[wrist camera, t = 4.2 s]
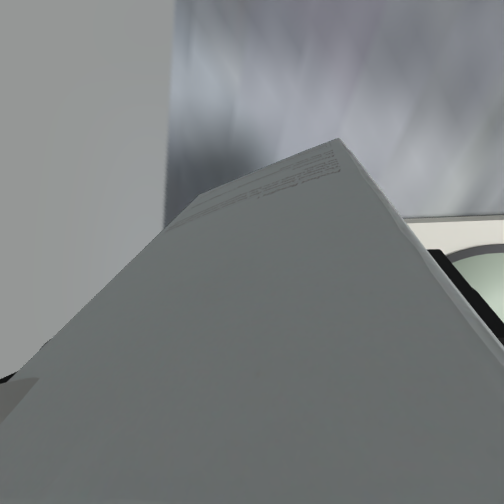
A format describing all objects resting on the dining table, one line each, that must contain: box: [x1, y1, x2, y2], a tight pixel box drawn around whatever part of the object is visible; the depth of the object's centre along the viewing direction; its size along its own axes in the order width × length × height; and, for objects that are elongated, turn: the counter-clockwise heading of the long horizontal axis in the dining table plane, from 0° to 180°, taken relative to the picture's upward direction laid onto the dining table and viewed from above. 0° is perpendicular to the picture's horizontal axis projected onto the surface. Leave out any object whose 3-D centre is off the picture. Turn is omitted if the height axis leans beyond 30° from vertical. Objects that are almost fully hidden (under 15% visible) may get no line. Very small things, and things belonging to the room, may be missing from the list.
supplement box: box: [0, 138, 504, 504], centre depth 9 cm, size 7×7×13 cm
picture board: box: [404, 215, 504, 323], centre depth 19 cm, size 14×14×1 cm
